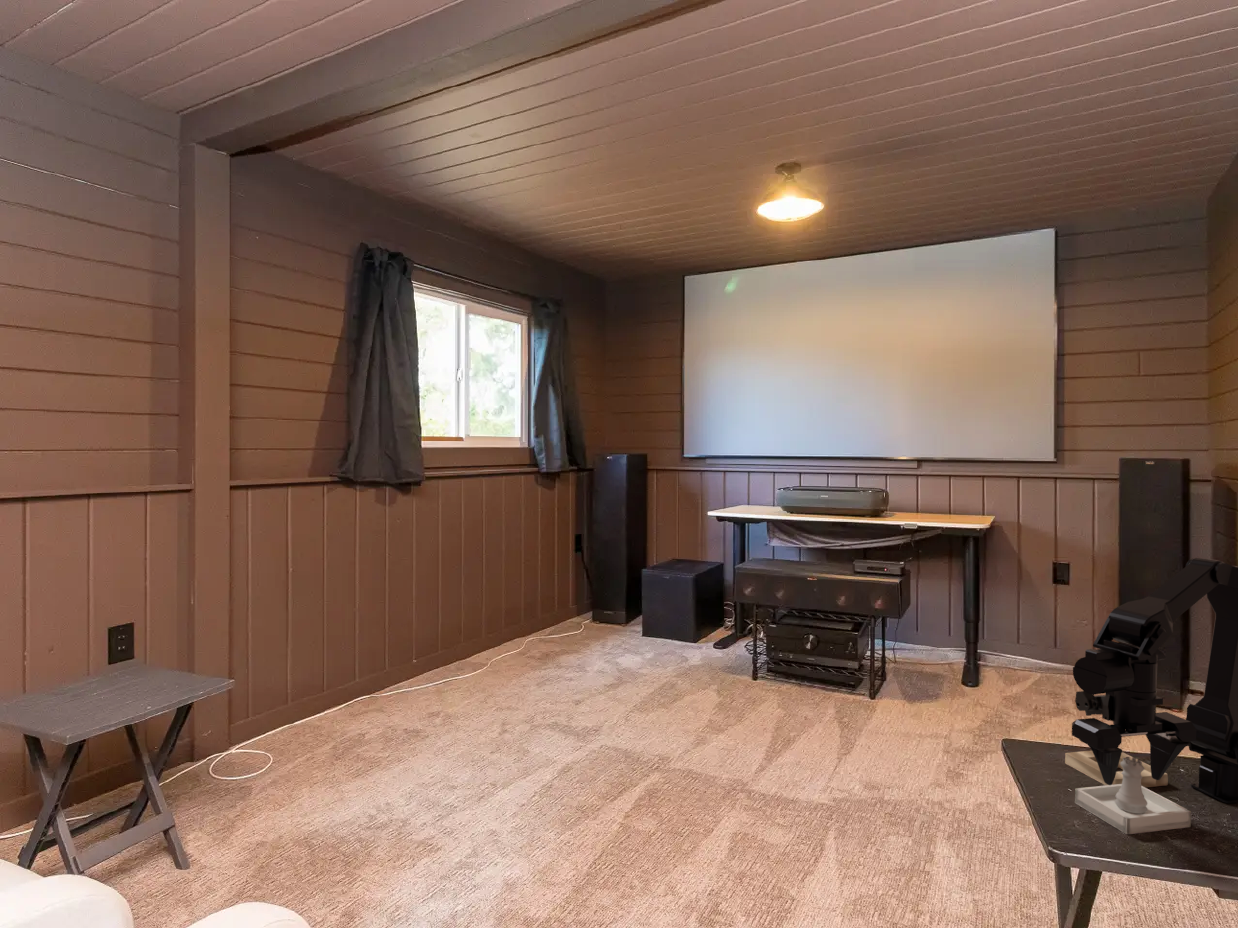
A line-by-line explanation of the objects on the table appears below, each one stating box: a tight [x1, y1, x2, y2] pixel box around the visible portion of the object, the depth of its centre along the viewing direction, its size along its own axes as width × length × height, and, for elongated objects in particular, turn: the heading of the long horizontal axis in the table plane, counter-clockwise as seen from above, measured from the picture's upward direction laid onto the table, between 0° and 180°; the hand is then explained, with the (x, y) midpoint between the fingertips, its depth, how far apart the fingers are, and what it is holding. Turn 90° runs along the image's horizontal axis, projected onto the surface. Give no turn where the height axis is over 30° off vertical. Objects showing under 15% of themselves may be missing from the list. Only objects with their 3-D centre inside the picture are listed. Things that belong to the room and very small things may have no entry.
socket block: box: [1064, 750, 1169, 788], centre depth 135 cm, size 11×11×2 cm
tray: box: [1074, 784, 1192, 835], centre depth 120 cm, size 12×10×2 cm
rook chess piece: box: [1115, 756, 1148, 814], centre depth 120 cm, size 4×4×8 cm
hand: (1131, 781), depth 120 cm, fingers open, 9 cm apart
